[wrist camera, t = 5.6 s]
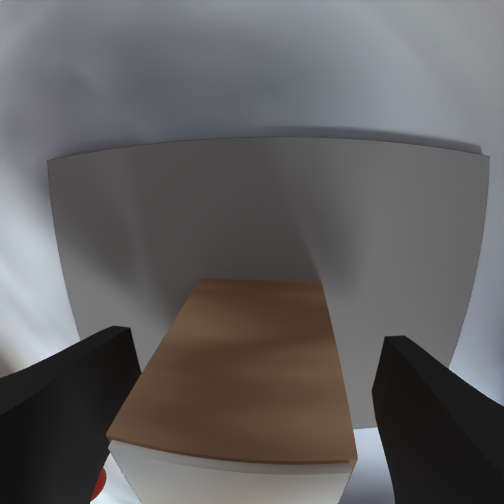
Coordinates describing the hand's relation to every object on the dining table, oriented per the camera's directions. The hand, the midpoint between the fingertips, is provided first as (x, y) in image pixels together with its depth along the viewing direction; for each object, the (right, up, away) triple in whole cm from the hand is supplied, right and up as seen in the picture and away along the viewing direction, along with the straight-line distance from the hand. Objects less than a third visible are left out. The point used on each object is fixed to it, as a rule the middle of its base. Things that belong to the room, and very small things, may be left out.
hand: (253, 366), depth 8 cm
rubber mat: (0, +1, +3) cm, 3 cm away
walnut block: (0, 0, +3) cm, 3 cm away
